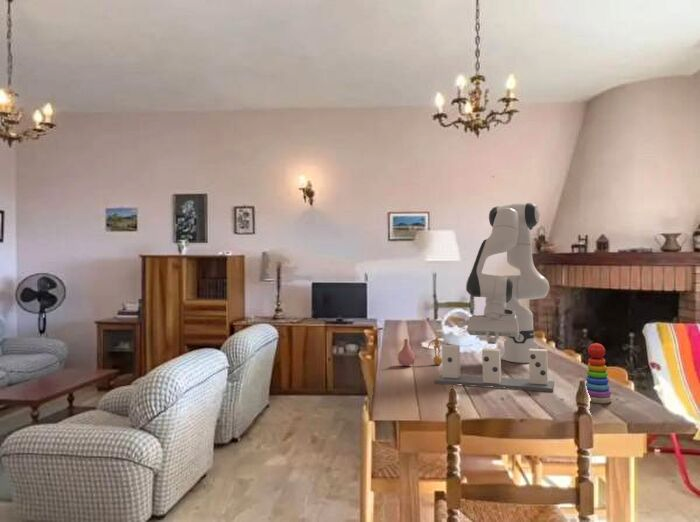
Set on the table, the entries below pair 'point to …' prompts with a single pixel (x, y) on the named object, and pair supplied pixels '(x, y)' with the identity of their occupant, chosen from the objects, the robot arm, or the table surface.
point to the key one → (451, 361)
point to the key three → (538, 366)
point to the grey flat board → (505, 383)
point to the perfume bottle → (406, 355)
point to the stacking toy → (597, 375)
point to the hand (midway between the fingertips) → (491, 343)
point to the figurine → (438, 359)
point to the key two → (491, 365)
